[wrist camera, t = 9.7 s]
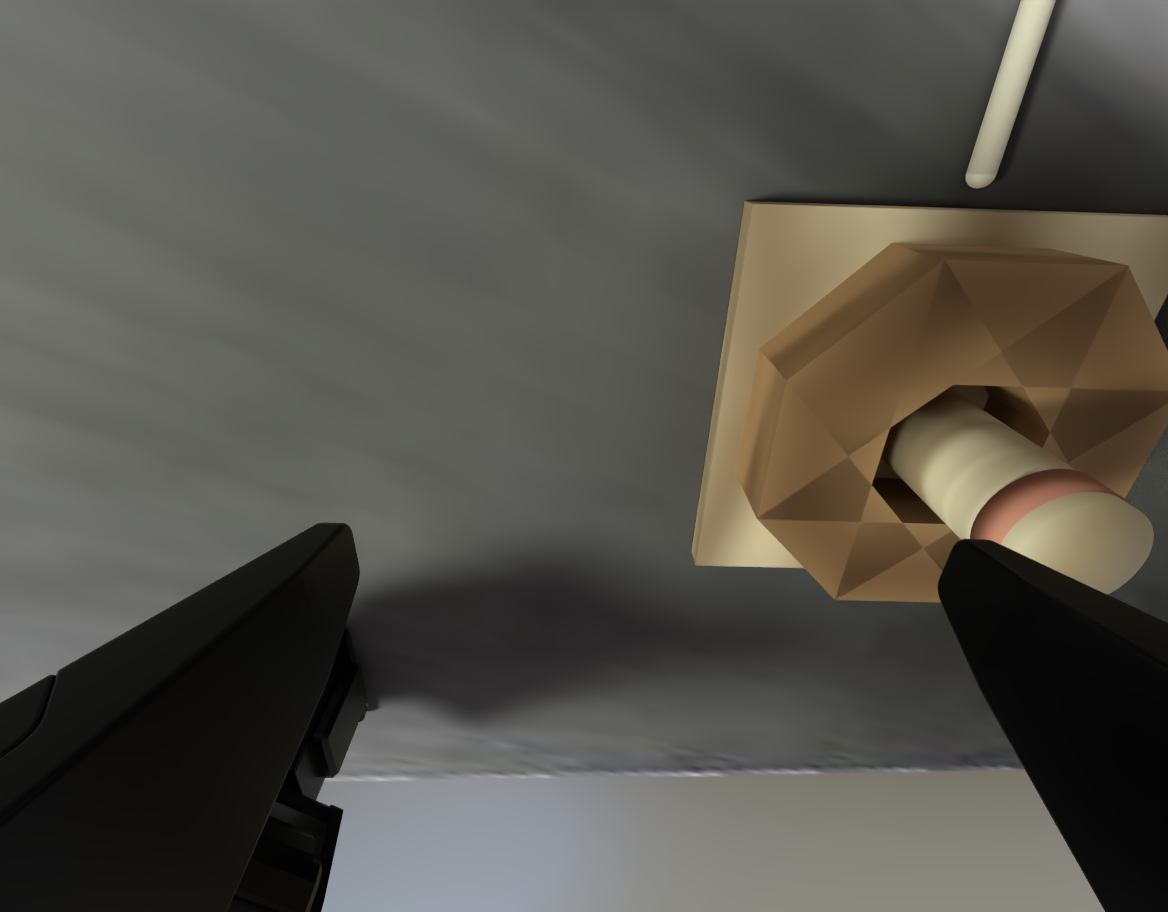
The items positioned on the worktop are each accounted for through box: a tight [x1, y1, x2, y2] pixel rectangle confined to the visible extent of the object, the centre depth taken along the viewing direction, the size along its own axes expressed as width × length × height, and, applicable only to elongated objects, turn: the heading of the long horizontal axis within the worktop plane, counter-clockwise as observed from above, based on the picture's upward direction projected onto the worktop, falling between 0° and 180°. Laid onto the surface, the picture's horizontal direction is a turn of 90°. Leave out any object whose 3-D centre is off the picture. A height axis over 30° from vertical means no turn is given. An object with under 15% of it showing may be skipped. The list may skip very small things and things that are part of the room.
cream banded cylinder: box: [881, 388, 1154, 595], centre depth 17 cm, size 3×3×8 cm
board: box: [692, 201, 1168, 568], centre depth 21 cm, size 14×14×1 cm
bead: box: [736, 243, 1168, 602], centre depth 19 cm, size 12×12×3 cm
